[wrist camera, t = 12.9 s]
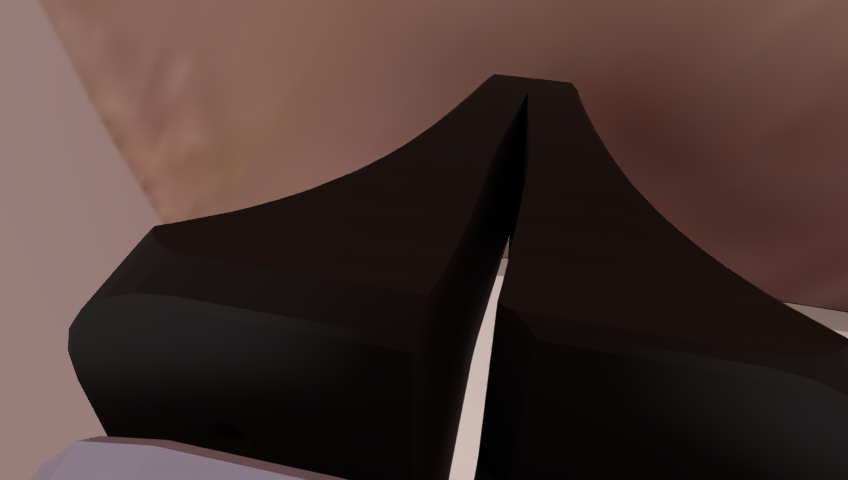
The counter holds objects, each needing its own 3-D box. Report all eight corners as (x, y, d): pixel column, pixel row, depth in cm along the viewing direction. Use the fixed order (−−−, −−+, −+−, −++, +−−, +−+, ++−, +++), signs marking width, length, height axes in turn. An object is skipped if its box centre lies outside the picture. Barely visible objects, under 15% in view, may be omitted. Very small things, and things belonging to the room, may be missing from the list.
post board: (889, 319, 23) (950, 457, 19) (727, 553, 34) (742, 670, 30) (390, 240, 26) (347, 345, 21) (396, 481, 37) (368, 579, 33)
